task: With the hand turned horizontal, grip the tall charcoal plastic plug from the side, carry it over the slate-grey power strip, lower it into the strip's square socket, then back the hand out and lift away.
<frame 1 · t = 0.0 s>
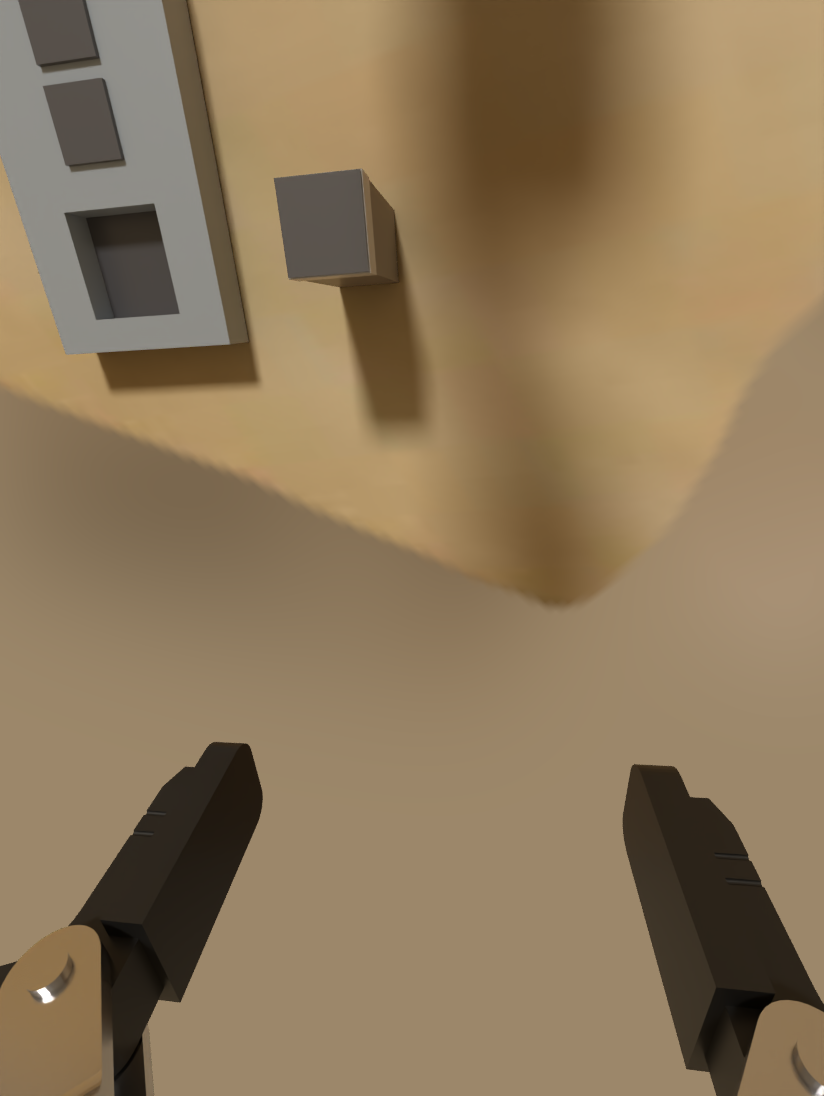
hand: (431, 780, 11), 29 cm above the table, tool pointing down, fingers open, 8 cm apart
power strip: (129, 179, 32), on the table
plug: (365, 249, 32), on the table
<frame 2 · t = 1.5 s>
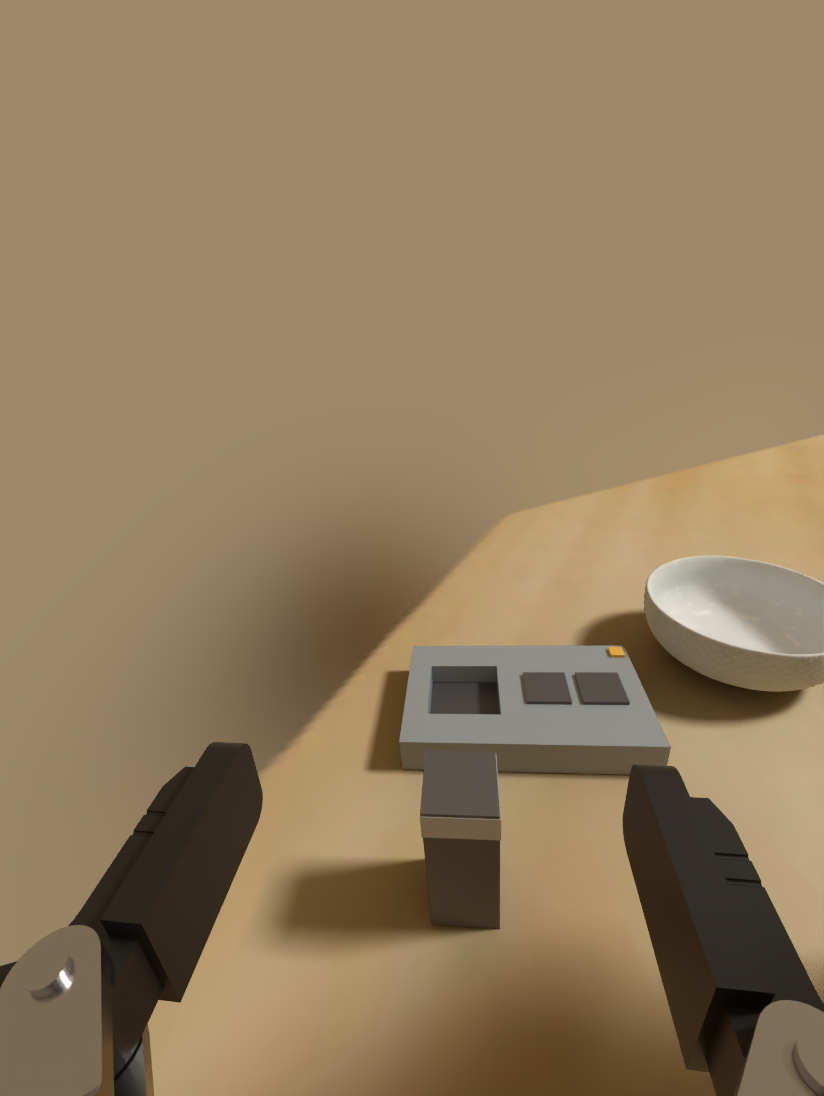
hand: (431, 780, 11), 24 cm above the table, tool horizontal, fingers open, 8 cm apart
power strip: (521, 715, 44), on the table
plug: (465, 891, 31), on the table
cereal bowl: (730, 659, 49), on the table
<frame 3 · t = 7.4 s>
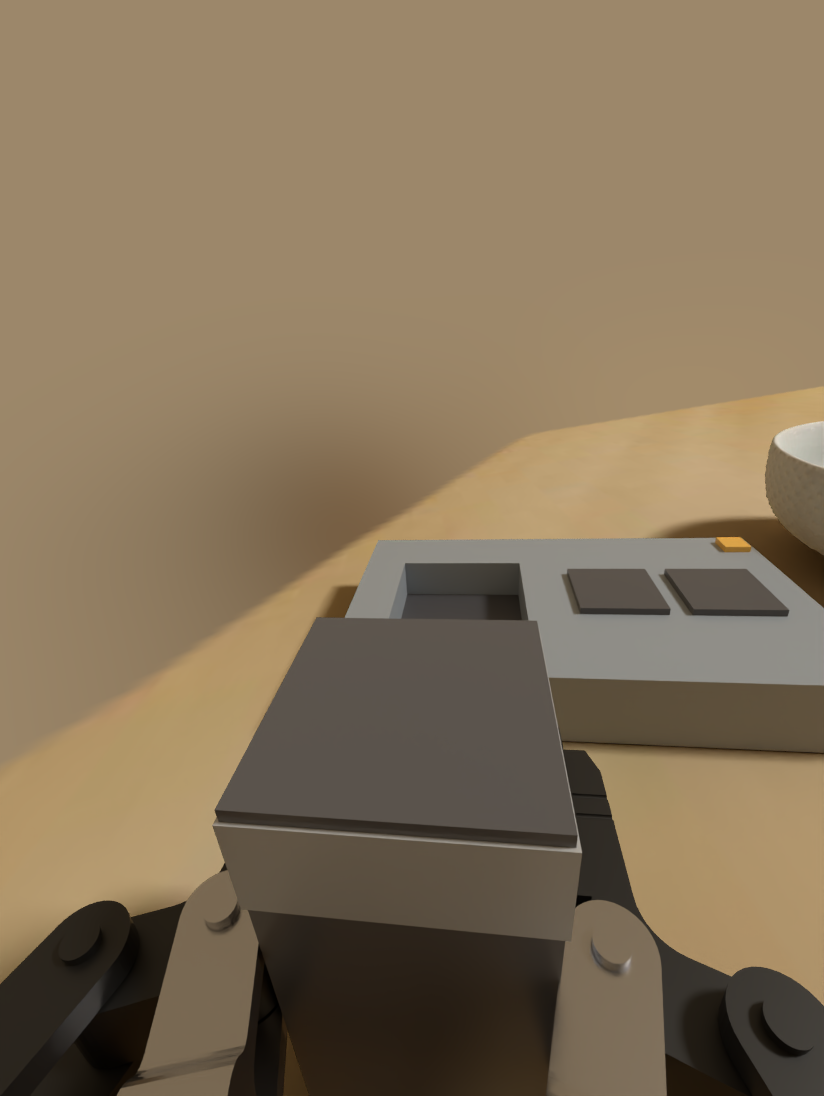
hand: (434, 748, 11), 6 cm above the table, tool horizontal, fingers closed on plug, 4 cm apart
power strip: (564, 646, 24), on the table
plug: (437, 1037, 11), on the table, touching gripper
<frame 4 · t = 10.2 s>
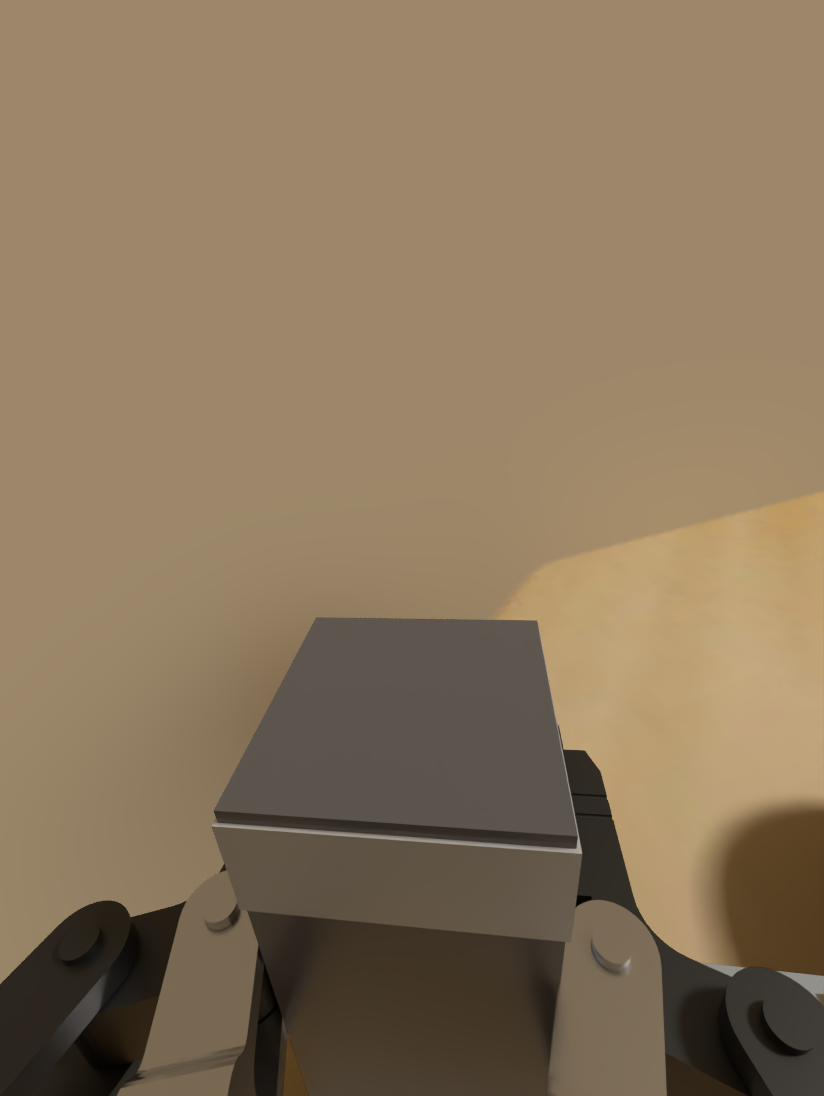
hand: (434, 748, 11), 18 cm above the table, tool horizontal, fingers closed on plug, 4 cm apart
plug: (437, 1037, 11), point 12 cm above the table, touching gripper
when the fingers open (8 cm above the table, at t = 13.3 s): plug drops 1 cm, resting on power strip.
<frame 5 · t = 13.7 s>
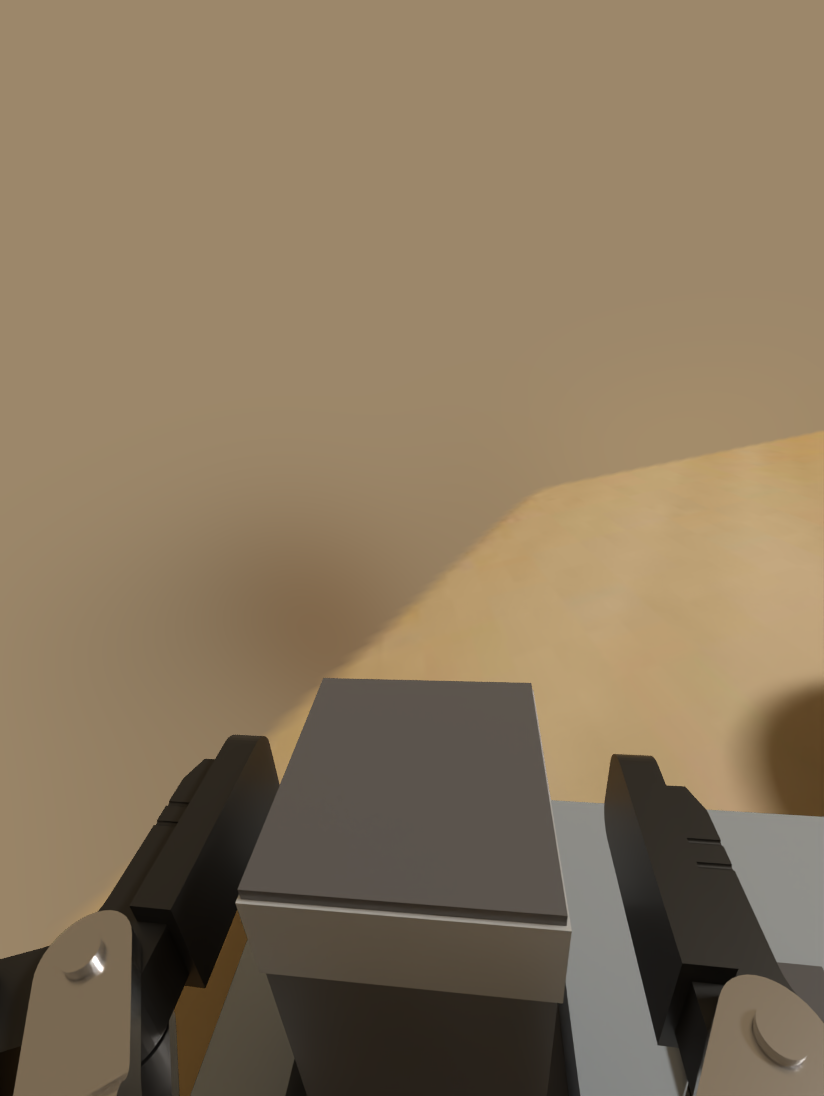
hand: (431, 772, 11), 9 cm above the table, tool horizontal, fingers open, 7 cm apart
plug: (438, 1066, 12), point 1 cm above the table, touching power strip
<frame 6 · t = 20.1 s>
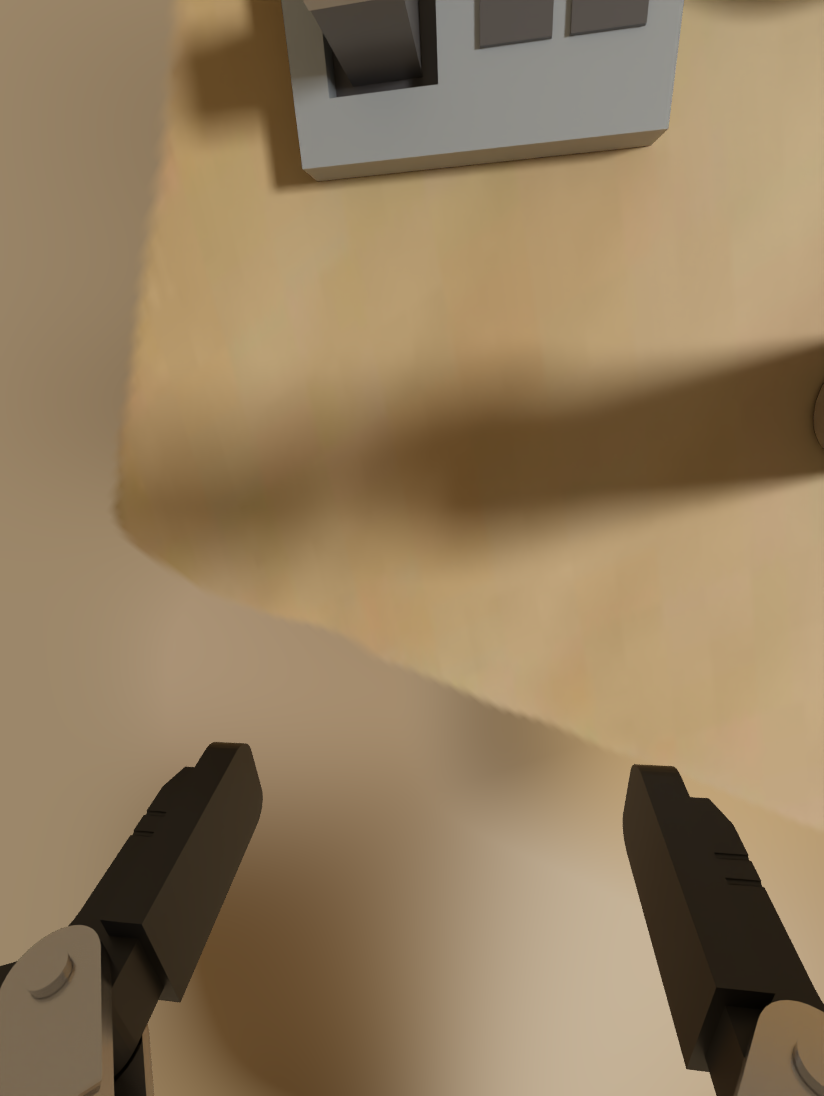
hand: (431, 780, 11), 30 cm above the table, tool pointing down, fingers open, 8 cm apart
power strip: (475, 31, 28), on the table
plug: (384, 34, 27), point 1 cm above the table, touching power strip
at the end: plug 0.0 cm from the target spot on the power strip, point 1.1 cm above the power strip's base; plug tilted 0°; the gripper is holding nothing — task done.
